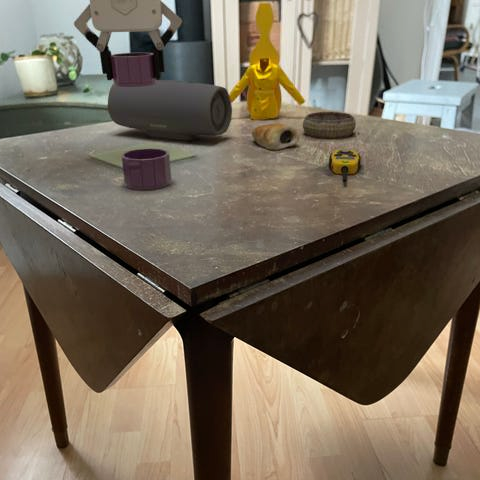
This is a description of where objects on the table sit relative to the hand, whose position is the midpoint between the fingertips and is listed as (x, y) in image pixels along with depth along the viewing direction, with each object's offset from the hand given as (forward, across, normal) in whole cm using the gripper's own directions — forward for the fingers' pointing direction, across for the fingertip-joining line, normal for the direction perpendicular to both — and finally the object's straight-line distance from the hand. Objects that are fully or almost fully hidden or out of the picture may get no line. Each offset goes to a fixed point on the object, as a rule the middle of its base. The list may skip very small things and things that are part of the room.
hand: (134, 77), depth 85 cm
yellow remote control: (+13, +31, -13) cm, 36 cm away
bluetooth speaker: (+13, +4, +15) cm, 20 cm away
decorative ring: (+13, +34, +14) cm, 39 cm away
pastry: (+13, +23, +6) cm, 27 cm away
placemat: (+12, 0, 0) cm, 12 cm away
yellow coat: (+13, +24, +32) cm, 42 cm away
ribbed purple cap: (+12, +2, -16) cm, 20 cm away
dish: (+1, 0, 0) cm, 1 cm away
